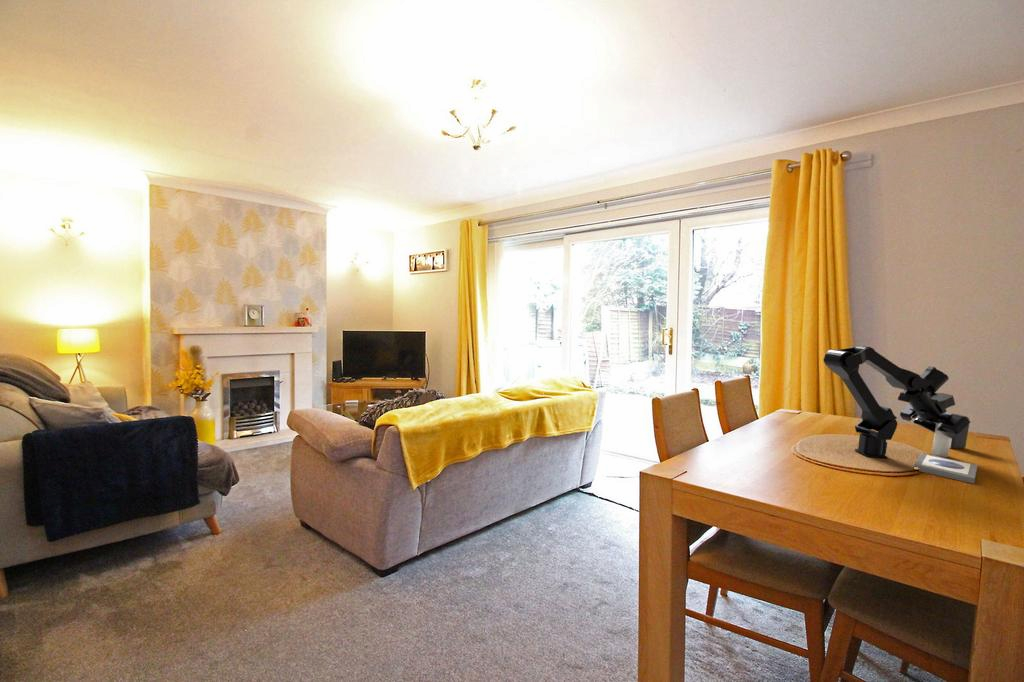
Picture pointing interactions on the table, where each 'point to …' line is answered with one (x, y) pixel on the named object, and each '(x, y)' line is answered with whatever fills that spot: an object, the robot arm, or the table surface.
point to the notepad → (947, 467)
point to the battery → (960, 439)
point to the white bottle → (941, 442)
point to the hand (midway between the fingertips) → (946, 435)
